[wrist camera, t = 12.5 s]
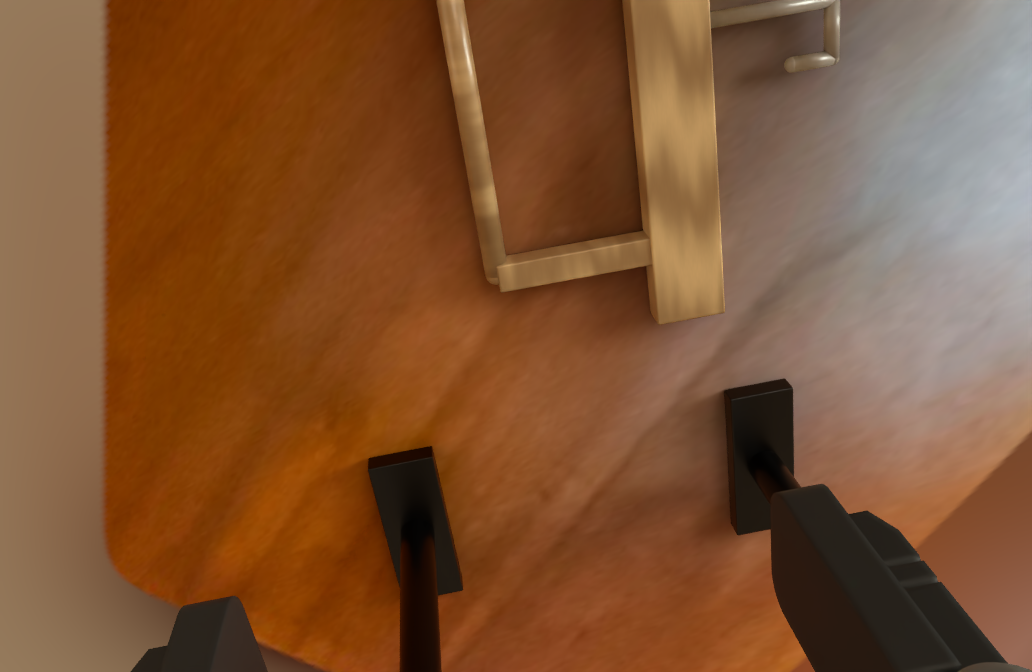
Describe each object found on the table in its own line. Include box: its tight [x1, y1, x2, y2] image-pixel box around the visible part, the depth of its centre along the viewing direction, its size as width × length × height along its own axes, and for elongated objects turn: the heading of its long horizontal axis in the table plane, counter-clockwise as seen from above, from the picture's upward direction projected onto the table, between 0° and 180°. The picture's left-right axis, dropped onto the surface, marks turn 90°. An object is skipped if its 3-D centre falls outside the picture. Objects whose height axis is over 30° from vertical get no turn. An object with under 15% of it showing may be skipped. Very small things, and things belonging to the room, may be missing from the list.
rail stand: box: [368, 379, 801, 672], centre depth 34 cm, size 8×20×18 cm, turn 99°
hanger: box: [436, 0, 840, 325], centre depth 33 cm, size 22×1×15 cm
